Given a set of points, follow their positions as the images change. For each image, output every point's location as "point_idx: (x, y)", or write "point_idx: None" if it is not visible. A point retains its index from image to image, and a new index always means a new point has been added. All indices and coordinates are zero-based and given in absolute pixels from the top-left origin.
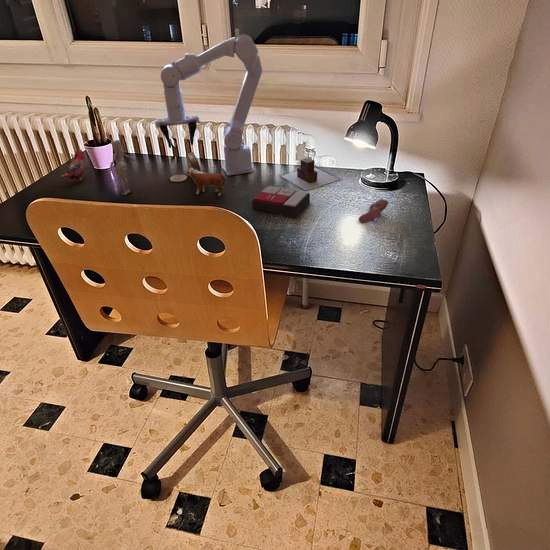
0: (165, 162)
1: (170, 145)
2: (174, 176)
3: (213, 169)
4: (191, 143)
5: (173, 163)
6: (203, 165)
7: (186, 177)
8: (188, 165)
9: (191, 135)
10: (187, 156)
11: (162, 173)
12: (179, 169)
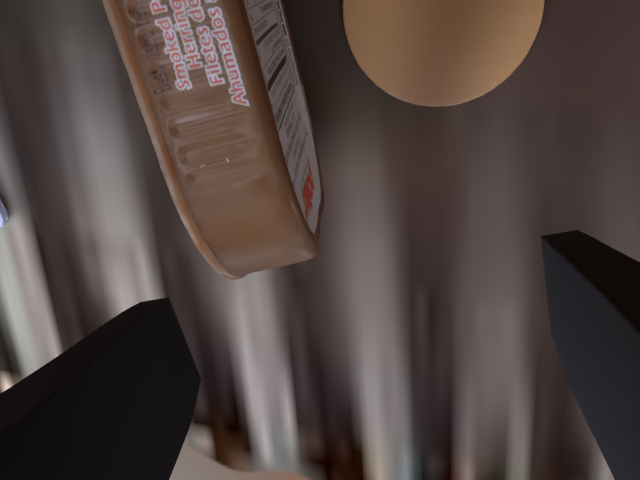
0: (564, 435)
1: (566, 242)
2: (488, 59)
3: (96, 207)
4: (149, 307)
5: (489, 402)
6: (206, 312)
7: (348, 6)
8: (318, 195)
9: (44, 393)
10: (258, 68)
11: (616, 193)
12: (432, 263)
